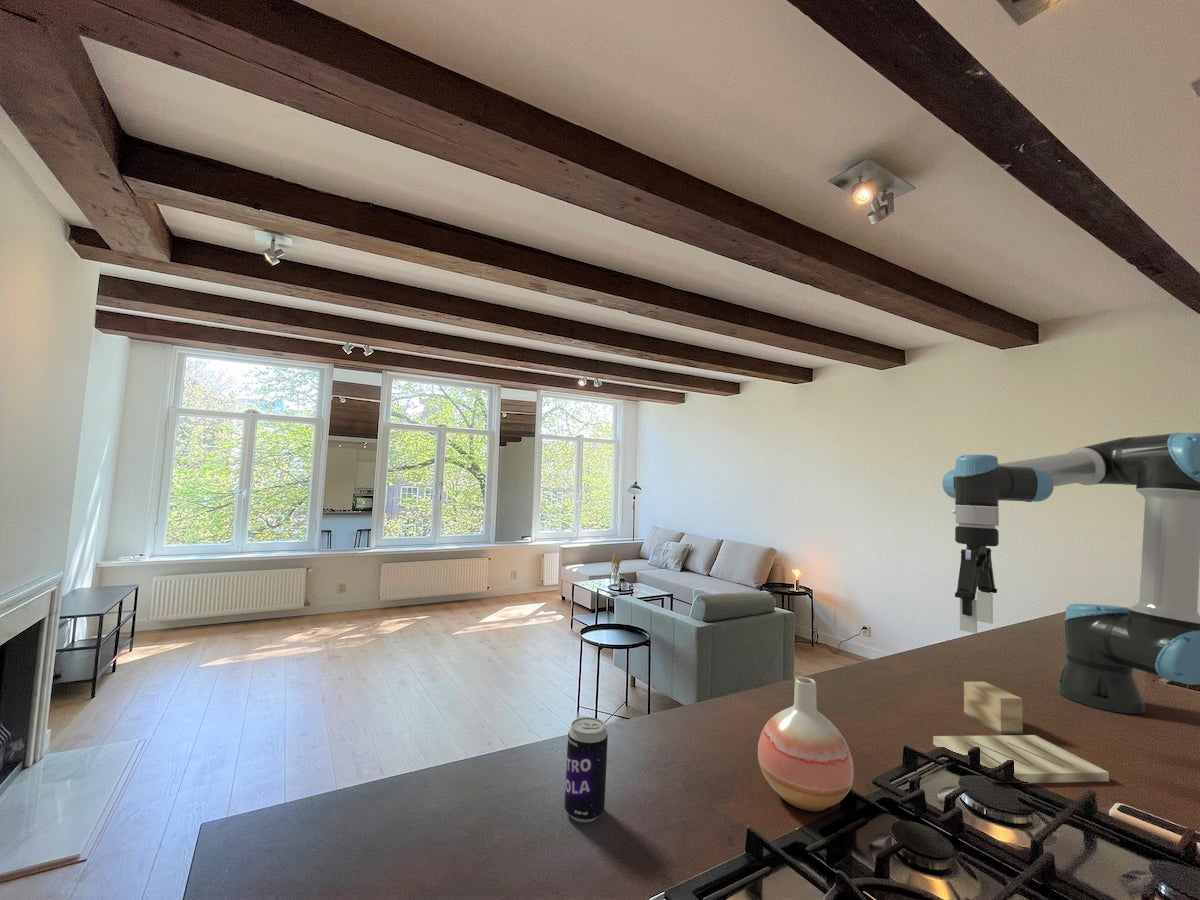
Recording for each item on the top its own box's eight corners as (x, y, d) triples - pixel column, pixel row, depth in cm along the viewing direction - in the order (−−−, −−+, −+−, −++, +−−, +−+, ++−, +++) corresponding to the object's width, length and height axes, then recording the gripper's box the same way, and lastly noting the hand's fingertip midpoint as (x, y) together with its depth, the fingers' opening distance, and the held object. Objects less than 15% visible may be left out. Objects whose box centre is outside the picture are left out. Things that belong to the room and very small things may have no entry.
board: (1035, 742, 100) (1035, 735, 100) (1109, 781, 87) (1108, 772, 87) (933, 744, 97) (933, 736, 97) (993, 783, 84) (993, 774, 84)
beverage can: (563, 800, 74) (568, 715, 75) (602, 800, 75) (606, 716, 75) (564, 826, 68) (569, 734, 69) (606, 826, 69) (610, 734, 70)
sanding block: (964, 714, 112) (963, 681, 113) (984, 713, 113) (984, 681, 113) (1000, 733, 103) (1000, 698, 104) (1022, 733, 104) (1022, 698, 104)
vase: (875, 821, 73) (876, 695, 74) (794, 834, 69) (797, 701, 70) (810, 769, 86) (812, 662, 87) (739, 778, 82) (742, 666, 83)
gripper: (970, 524, 120) (971, 615, 119) (938, 525, 104) (938, 630, 102) (1010, 527, 115) (1011, 622, 113) (983, 528, 98) (984, 640, 97)
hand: (976, 626), depth 108 cm, fingers open, 13 cm apart
